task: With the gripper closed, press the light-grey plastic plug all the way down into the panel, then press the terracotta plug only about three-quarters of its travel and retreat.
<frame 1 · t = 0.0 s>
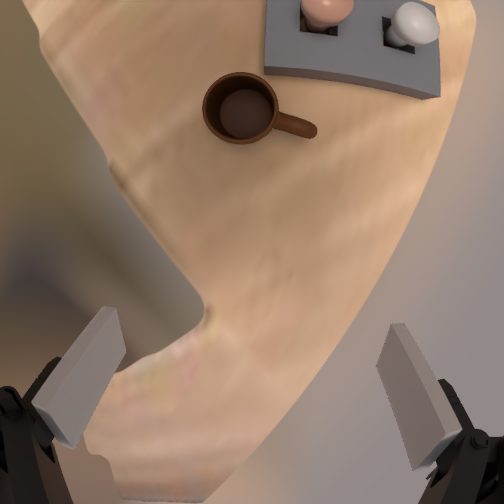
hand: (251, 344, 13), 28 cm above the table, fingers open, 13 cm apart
panel: (350, 37, 30), on the table
mug: (262, 119, 35), on the table
grey plug: (406, 30, 23), point 7 cm above the table, slide at 0.0 cm
terracotta plug: (322, 11, 23), point 7 cm above the table, slide at 0.0 cm
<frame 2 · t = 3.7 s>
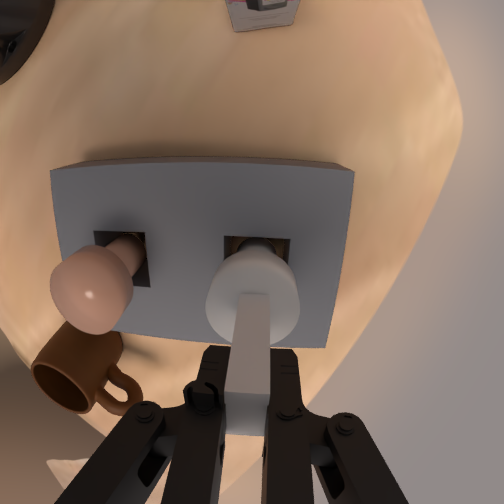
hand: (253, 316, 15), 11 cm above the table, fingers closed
panel: (198, 238, 25), on the table
mug: (113, 340, 31), on the table
grey plug: (254, 278, 19), point 7 cm above the table, slide at 0.6 cm, touching gripper
terracotta plug: (108, 272, 19), point 7 cm above the table, slide at 0.0 cm
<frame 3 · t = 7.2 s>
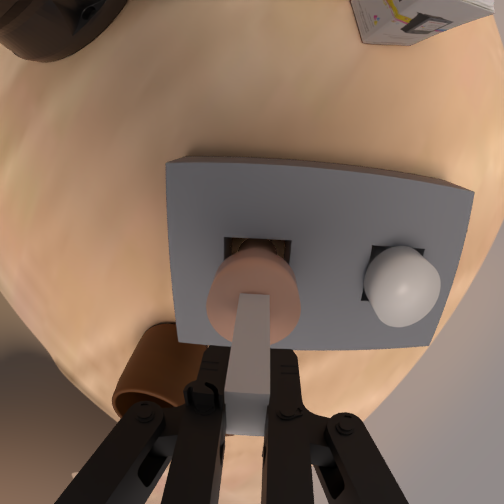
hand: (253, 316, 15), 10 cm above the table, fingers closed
panel: (317, 246, 25), on the table
mug: (195, 354, 30), on the table
ink box: (375, 4, 16), on the table
grey plug: (389, 270, 21), point 4 cm above the table, slide at 3.0 cm
terracotta plug: (255, 278, 19), point 6 cm above the table, slide at 0.9 cm, touching gripper
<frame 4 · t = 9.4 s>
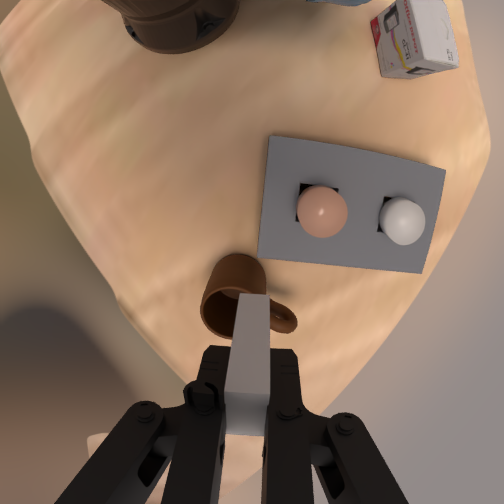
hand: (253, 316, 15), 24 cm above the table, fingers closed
panel: (347, 201, 37), on the table
mug: (253, 282, 42), on the table
ink box: (391, 50, 29), on the table
grey plug: (394, 215, 33), point 4 cm above the table, slide at 3.0 cm
terracotta plug: (317, 205, 32), point 5 cm above the table, slide at 2.0 cm
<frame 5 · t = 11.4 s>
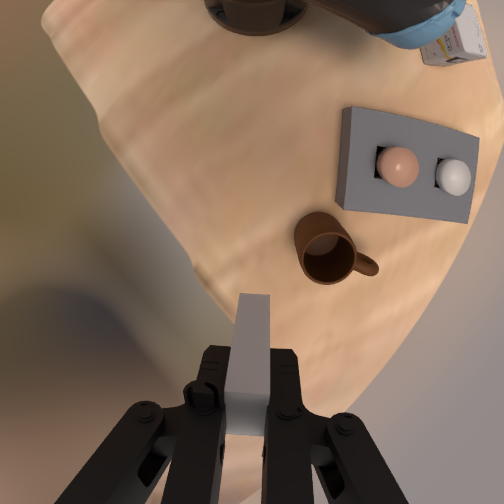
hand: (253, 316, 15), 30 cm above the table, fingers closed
panel: (405, 165, 40), on the table
mug: (330, 238, 46), on the table
ink box: (429, 43, 32), on the table
grey plug: (444, 173, 36), point 4 cm above the table, slide at 3.0 cm
terracotta plug: (390, 164, 36), point 5 cm above the table, slide at 2.0 cm
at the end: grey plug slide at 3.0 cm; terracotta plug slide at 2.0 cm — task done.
